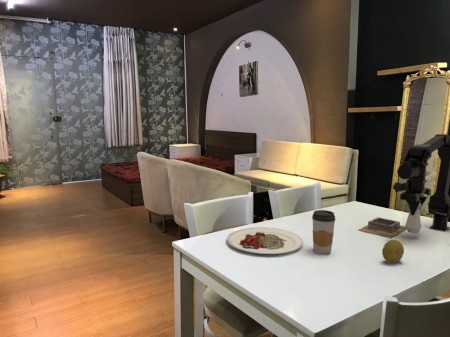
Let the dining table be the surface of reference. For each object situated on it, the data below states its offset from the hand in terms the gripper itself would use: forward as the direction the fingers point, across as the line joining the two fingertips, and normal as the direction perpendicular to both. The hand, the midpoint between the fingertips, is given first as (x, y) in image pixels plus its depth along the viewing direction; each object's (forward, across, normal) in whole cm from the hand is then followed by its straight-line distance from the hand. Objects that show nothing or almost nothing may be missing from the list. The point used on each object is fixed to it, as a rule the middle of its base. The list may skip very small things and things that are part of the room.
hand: (414, 214), depth 147 cm
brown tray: (+10, -3, -13) cm, 17 cm away
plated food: (+11, +49, -39) cm, 63 cm away
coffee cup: (+10, +41, -18) cm, 46 cm away
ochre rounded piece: (+10, +32, +4) cm, 34 cm away
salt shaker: (+8, 0, 0) cm, 8 cm away
